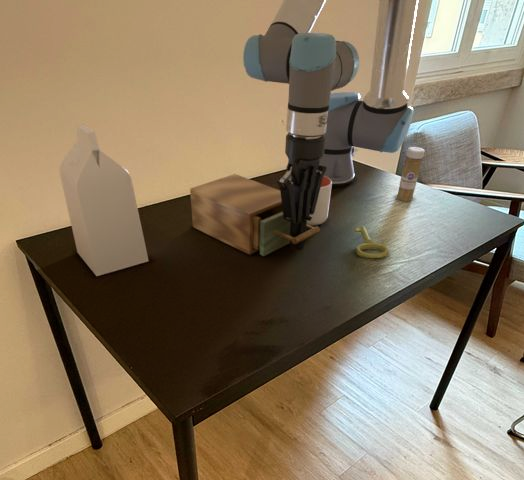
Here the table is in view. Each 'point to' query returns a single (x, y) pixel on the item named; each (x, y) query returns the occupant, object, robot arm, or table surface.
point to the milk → (101, 207)
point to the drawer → (275, 231)
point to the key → (369, 246)
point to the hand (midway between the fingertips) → (296, 247)
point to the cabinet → (231, 209)
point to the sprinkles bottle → (410, 173)
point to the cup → (322, 203)
